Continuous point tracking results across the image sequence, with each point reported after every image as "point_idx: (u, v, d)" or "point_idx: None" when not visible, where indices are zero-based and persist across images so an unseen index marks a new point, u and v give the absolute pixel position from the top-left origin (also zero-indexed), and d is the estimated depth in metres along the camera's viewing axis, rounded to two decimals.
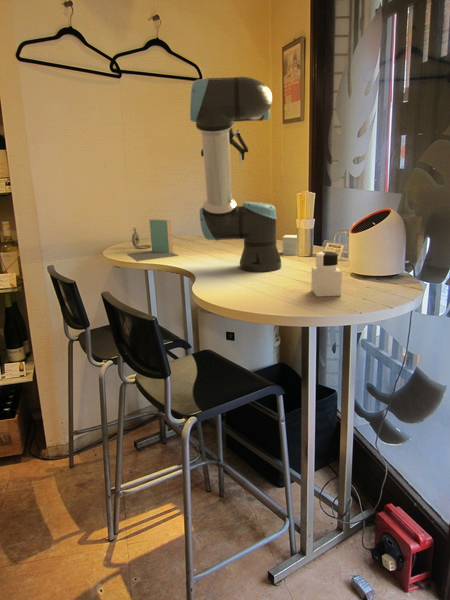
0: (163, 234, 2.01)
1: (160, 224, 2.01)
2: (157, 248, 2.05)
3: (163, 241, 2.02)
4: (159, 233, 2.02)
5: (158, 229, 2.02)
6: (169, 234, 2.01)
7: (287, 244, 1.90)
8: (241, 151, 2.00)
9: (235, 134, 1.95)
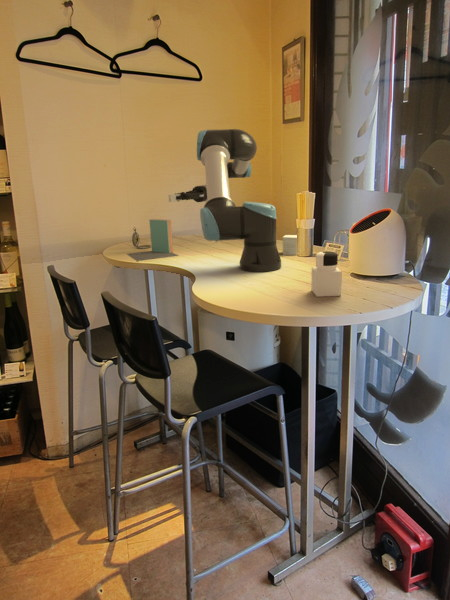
0: (163, 234, 2.01)
1: (160, 224, 2.01)
2: (157, 248, 2.05)
3: (163, 241, 2.02)
4: (159, 233, 2.02)
5: (158, 229, 2.02)
6: (169, 234, 2.01)
7: (287, 244, 1.90)
8: (183, 194, 2.10)
9: None
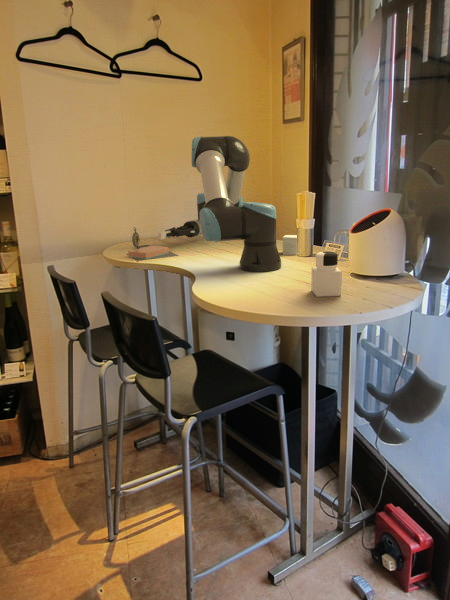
0: None
1: None
2: None
3: None
4: None
5: None
6: (156, 253, 1.96)
7: (287, 244, 1.90)
8: (174, 230, 2.09)
9: None
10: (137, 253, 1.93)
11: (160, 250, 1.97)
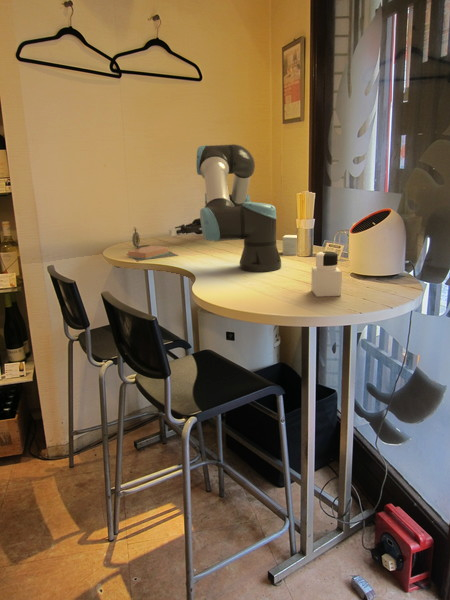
0: None
1: None
2: None
3: None
4: None
5: None
6: (156, 253, 1.96)
7: (287, 244, 1.90)
8: (184, 227, 2.14)
9: None
10: (137, 253, 1.93)
11: (160, 250, 1.97)
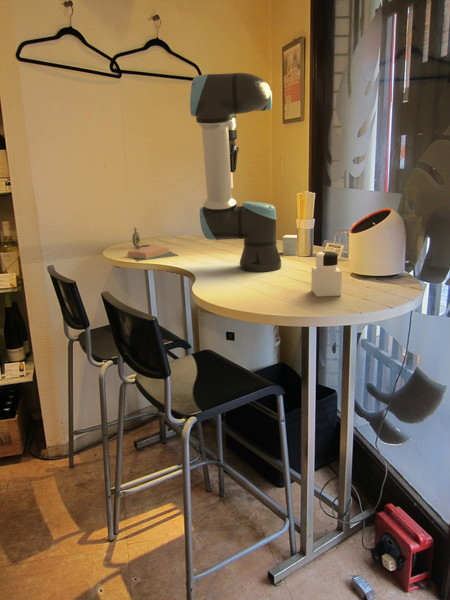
0: None
1: None
2: None
3: None
4: None
5: None
6: (156, 253, 1.96)
7: (287, 244, 1.90)
8: (232, 168, 2.00)
9: (235, 147, 2.00)
10: (137, 253, 1.93)
11: (160, 250, 1.97)
